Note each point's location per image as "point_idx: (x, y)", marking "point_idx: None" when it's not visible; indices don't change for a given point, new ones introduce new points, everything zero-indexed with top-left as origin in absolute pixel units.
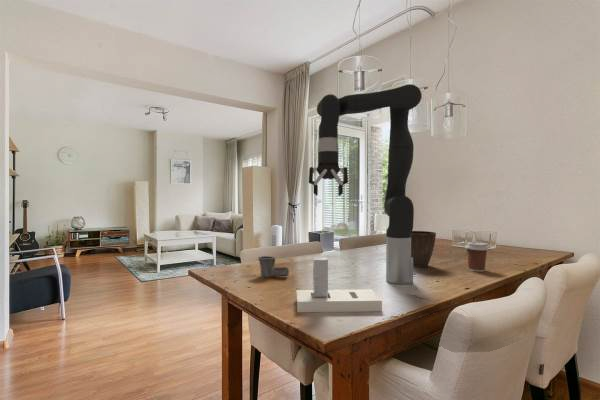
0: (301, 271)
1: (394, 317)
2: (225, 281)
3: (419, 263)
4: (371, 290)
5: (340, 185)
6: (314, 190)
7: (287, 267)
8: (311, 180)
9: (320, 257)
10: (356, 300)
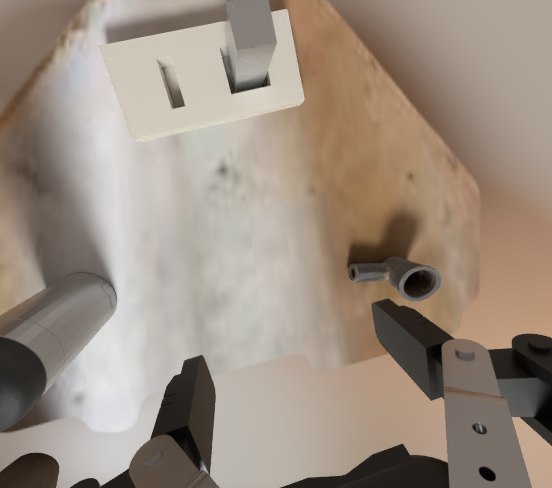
0: (326, 328)
1: (79, 18)
2: (465, 208)
3: (27, 459)
4: (132, 129)
5: (174, 440)
6: (420, 320)
7: (357, 277)
8: (545, 357)
9: (254, 46)
10: (159, 37)
